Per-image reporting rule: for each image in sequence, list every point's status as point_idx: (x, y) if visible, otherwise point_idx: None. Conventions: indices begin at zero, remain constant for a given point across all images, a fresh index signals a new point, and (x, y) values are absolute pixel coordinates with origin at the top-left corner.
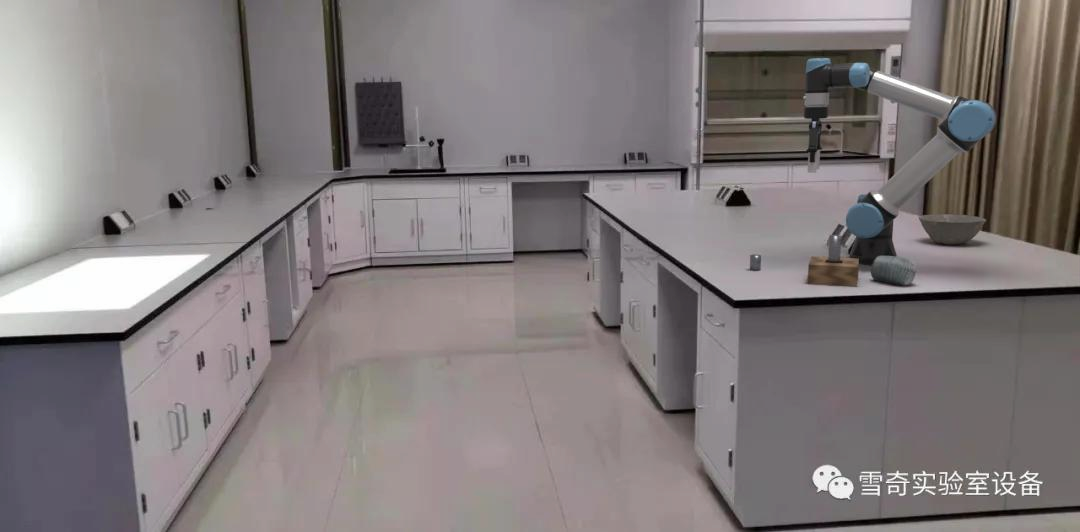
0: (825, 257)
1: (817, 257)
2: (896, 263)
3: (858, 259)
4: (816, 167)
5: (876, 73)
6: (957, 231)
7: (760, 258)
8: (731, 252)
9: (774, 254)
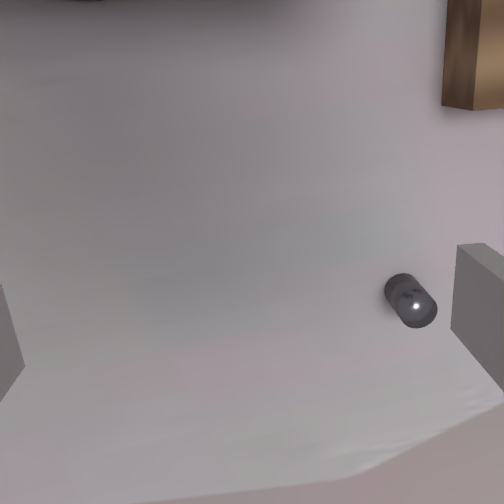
0: (487, 53)
1: (493, 85)
2: None
3: None
4: (498, 266)
5: None
6: None
7: (422, 291)
8: (128, 415)
9: (101, 291)
